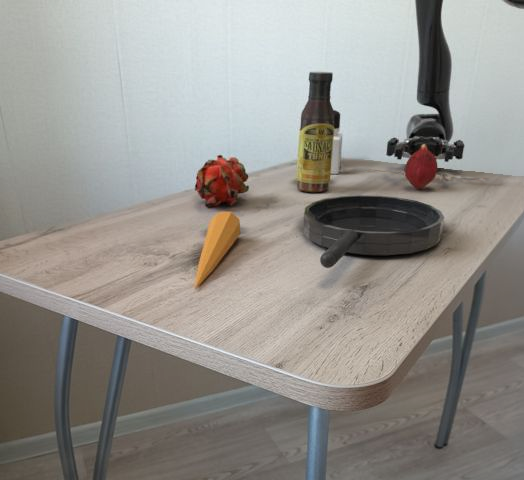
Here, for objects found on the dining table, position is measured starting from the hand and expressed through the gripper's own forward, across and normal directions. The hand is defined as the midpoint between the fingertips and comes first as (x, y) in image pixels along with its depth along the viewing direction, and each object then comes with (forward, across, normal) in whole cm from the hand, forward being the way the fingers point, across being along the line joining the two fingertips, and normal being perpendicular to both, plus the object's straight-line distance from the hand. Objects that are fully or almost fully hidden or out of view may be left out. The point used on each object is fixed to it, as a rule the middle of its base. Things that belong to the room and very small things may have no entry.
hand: (423, 154), depth 101 cm
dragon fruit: (+21, -32, +6) cm, 39 cm away
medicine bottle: (-11, -21, +6) cm, 24 cm away
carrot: (+48, -24, +6) cm, 54 cm away
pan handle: (+47, -7, +4) cm, 47 cm away
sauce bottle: (+7, -19, +6) cm, 21 cm away
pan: (+32, -5, +6) cm, 33 cm away
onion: (+1, 0, +6) cm, 6 cm away
